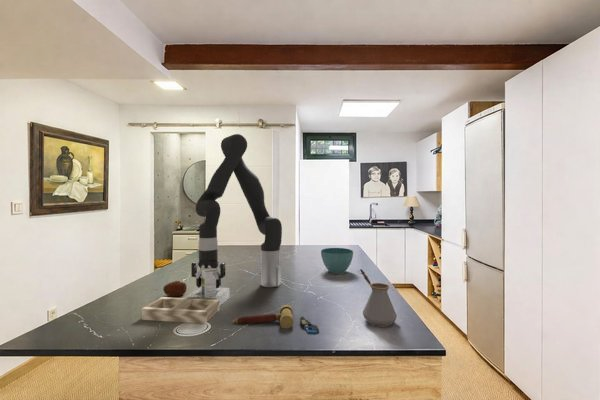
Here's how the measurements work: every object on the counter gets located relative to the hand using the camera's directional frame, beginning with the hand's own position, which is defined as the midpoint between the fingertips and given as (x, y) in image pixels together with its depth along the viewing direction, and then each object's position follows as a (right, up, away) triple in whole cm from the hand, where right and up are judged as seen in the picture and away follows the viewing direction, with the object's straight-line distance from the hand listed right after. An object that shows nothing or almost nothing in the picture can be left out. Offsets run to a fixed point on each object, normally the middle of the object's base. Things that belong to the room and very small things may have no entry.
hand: (208, 287), depth 125 cm
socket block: (0, -6, 0) cm, 6 cm away
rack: (-6, -6, -13) cm, 16 cm away
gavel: (+25, -7, -20) cm, 33 cm away
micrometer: (+41, -7, -23) cm, 47 cm away
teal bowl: (+59, -5, +46) cm, 75 cm away
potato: (-17, -6, +8) cm, 20 cm away
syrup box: (0, -6, 0) cm, 6 cm away
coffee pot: (+64, -7, -15) cm, 67 cm away
